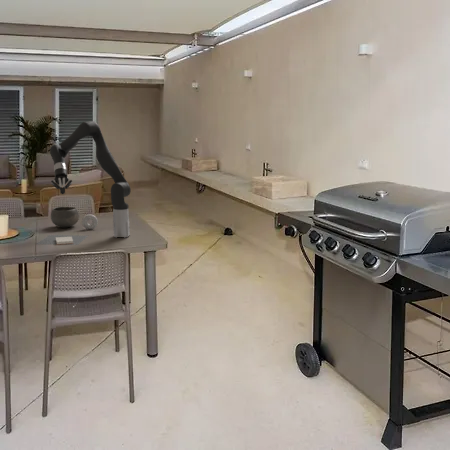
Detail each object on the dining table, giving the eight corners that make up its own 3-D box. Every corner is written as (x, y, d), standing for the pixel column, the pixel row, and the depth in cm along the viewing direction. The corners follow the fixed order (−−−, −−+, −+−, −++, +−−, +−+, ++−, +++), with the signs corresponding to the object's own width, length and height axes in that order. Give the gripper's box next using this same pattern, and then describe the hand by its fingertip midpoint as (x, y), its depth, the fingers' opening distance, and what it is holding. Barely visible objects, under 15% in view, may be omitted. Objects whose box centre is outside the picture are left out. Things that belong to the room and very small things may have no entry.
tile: (55, 237, 312) (56, 241, 301) (71, 236, 315) (73, 240, 304) (55, 240, 312) (56, 244, 301) (71, 239, 315) (73, 243, 304)
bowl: (83, 224, 361) (82, 206, 359) (73, 230, 343) (72, 210, 341) (58, 224, 363) (57, 205, 360) (46, 229, 345) (45, 210, 343)
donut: (82, 230, 344) (81, 215, 342) (82, 229, 347) (81, 214, 345) (98, 229, 346) (97, 214, 344) (98, 228, 349) (97, 213, 347)
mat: (88, 236, 326) (88, 235, 326) (78, 245, 302) (78, 244, 302) (49, 235, 326) (49, 235, 325) (35, 244, 302) (35, 244, 302)
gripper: (49, 167, 327) (51, 190, 318) (71, 167, 332) (74, 189, 323) (49, 175, 333) (51, 197, 324) (71, 175, 338) (73, 196, 329)
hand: (62, 193), depth 324 cm, fingers closed
